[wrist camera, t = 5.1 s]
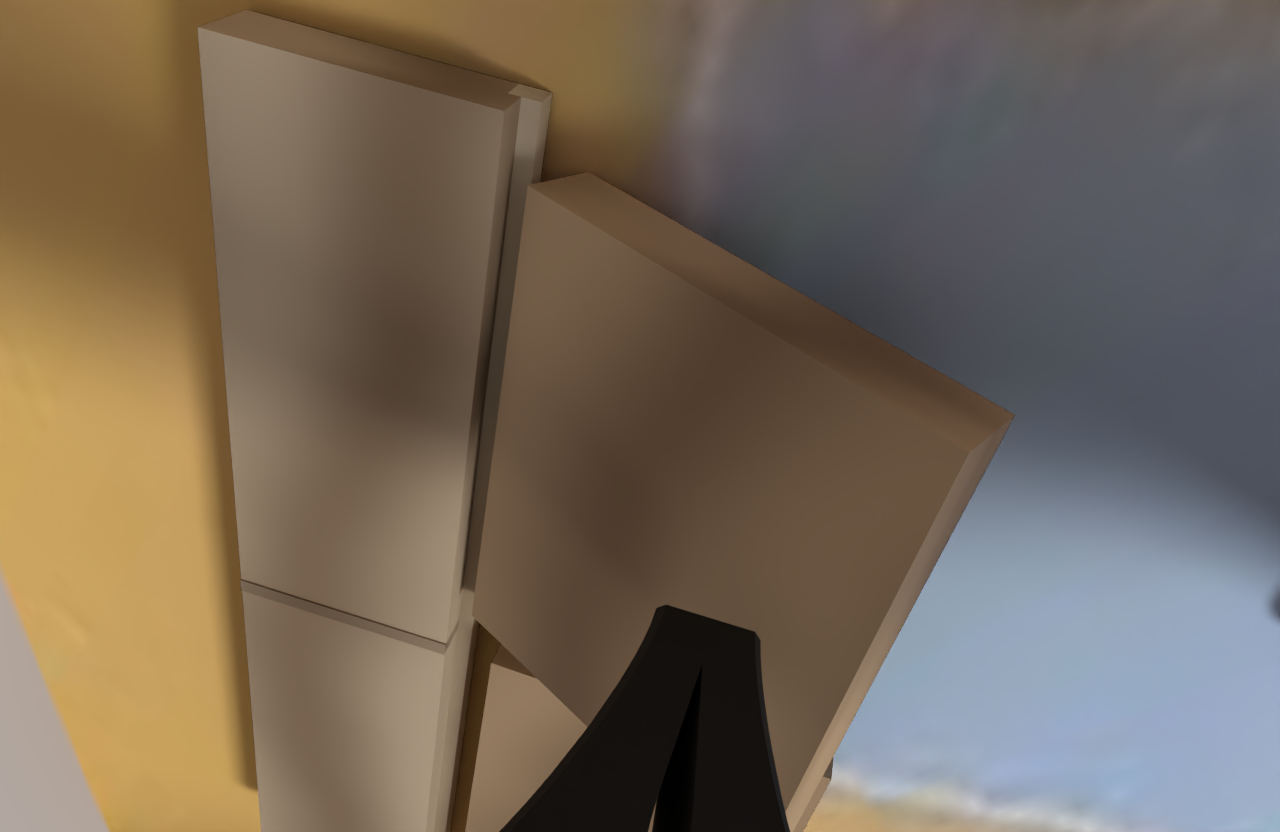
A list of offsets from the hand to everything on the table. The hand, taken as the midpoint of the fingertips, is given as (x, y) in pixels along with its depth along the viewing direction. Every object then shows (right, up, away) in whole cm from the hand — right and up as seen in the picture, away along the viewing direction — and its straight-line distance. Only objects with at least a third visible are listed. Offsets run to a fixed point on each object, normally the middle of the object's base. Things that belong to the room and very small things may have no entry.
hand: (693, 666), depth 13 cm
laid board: (-6, 0, +7) cm, 9 cm away
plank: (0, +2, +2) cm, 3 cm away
